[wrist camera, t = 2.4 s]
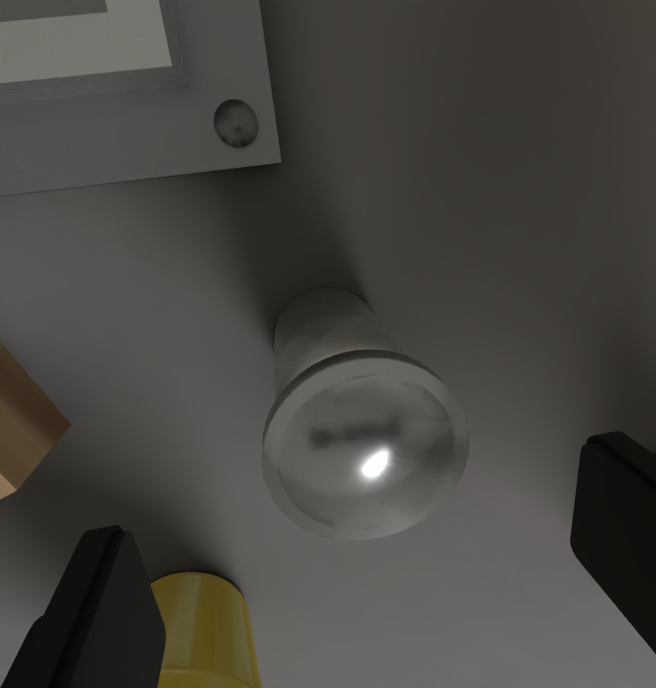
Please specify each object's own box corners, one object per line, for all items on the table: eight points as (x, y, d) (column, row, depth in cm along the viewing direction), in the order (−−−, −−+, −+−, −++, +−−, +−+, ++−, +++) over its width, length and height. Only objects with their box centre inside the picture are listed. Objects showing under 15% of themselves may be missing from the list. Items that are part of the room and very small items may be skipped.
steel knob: (380, 270, 21) (469, 344, 12) (388, 382, 23) (469, 521, 14) (256, 288, 20) (244, 379, 11) (275, 400, 23) (279, 556, 13)
